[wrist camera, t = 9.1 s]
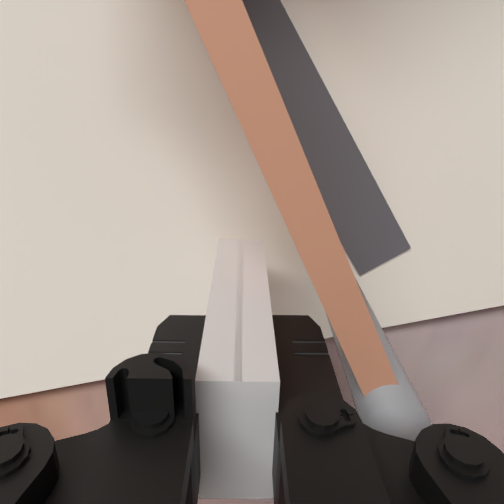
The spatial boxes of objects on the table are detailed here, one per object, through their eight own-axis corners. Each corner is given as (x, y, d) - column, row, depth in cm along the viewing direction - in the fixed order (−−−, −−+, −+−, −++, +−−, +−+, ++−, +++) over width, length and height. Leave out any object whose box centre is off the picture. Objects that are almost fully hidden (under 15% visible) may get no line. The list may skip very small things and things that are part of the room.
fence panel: (144, -95, 11) (2, -327, 5) (192, -124, 10) (110, -411, 4) (326, 309, 15) (376, 461, 9) (362, 295, 15) (438, 441, 9)
